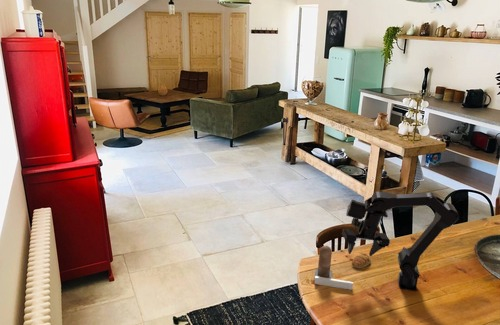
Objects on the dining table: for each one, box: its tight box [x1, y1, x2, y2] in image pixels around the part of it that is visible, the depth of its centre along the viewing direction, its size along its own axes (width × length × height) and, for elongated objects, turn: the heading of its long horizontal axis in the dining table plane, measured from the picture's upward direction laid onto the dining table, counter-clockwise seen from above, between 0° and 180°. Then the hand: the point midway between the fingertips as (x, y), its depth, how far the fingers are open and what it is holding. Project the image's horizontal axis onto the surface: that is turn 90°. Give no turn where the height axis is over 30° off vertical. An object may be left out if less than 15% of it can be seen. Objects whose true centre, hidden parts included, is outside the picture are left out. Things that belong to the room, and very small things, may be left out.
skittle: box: [317, 245, 333, 278], centre depth 168 cm, size 5×5×14 cm
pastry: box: [351, 252, 372, 269], centre depth 178 cm, size 9×7×4 cm
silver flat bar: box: [314, 275, 354, 291], centre depth 163 cm, size 15×1×3 cm, turn 76°
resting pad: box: [313, 267, 333, 280], centre depth 170 cm, size 7×7×1 cm
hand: (359, 254), depth 165 cm, fingers open, 9 cm apart
